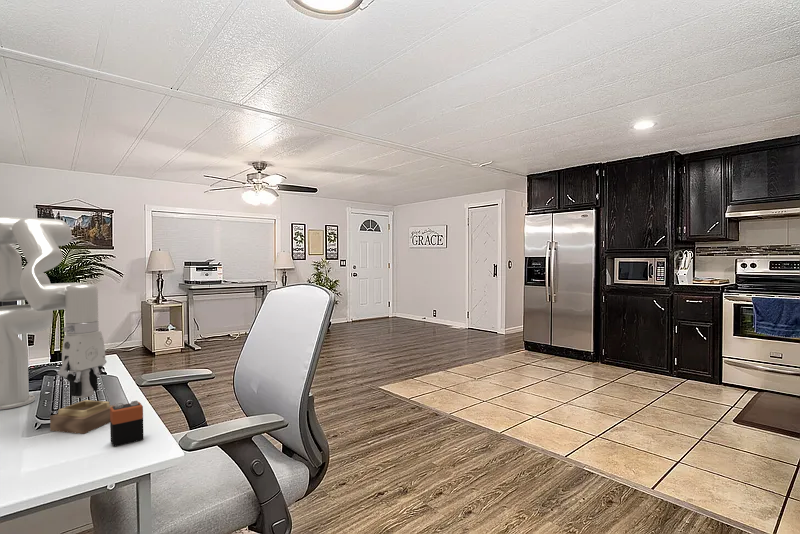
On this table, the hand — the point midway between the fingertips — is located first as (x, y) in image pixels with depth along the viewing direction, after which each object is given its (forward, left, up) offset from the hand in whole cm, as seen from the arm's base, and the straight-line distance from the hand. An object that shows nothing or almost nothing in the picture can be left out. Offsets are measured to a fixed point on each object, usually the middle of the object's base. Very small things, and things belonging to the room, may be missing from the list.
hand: (84, 392), depth 128 cm
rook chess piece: (0, 0, -1) cm, 1 cm away
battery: (+20, -7, -10) cm, 24 cm away
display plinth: (0, 0, -9) cm, 9 cm away
